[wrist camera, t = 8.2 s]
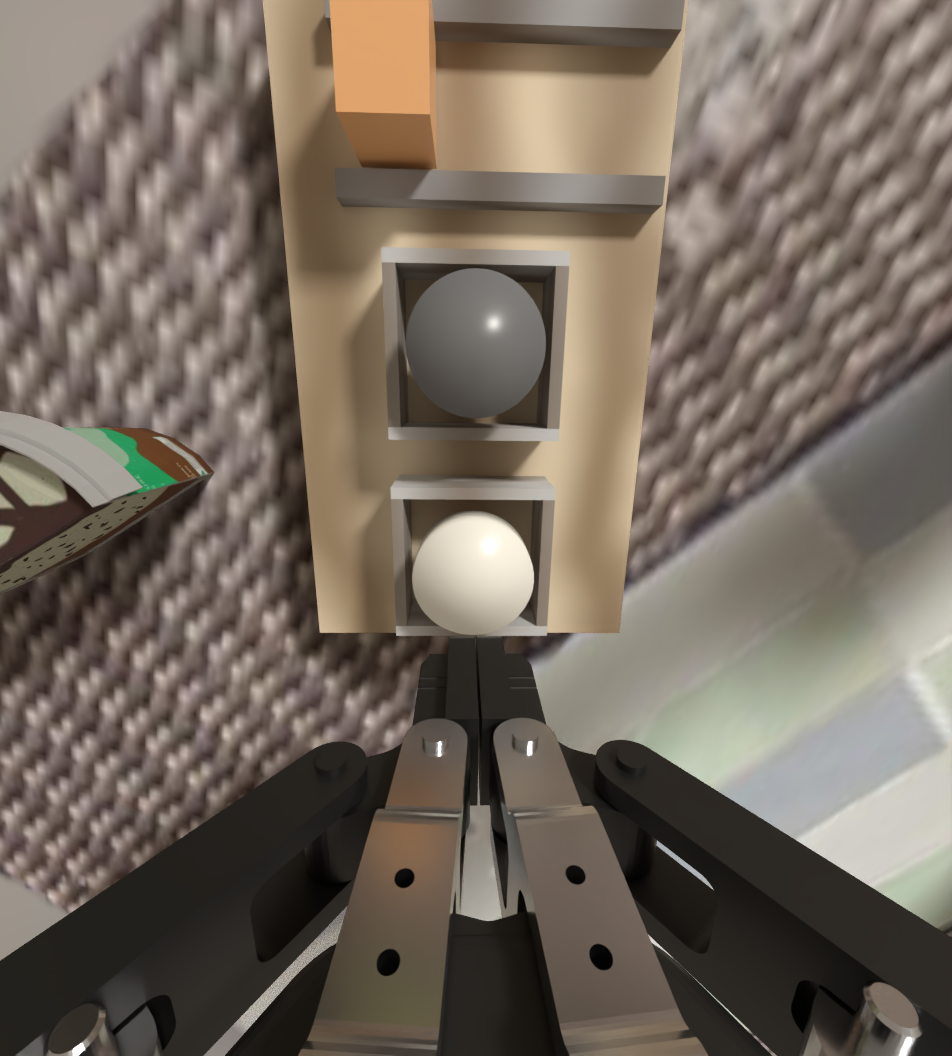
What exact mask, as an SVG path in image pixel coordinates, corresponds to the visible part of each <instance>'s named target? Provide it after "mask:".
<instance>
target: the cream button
mask: <svg viewBox="0 0 952 1056" xmlns="http://www.w3.org/2000/svg"><path fill="white" fill-rule="evenodd" d="M412 584H413V590H414V594H415V597H416V600H417V602H418V604H419V606H420V607H421V609H422V610H423V611H424V613H425V614H426V615H427V616H428V617H429V618H430V619H431V620H432V621H433V622H435V623H436V624H437V625H439V626H441V627H442V628H445V629H447V630H449V631H452V632H455V633H459V634H465V635H480V634H486V633H490V632H493V631H496V630H498V629H501V628H503V627H504V626H506V625H508V624H509V623H511V622H512V621H513V620H515V619H516V618H517V617H518V616H519V615H520V613H521V612H522V611H523V610H524V608H525V607H526V605H527V603H528V601H529V599H530V597H531V594H532V590H533V584H534V571H533V565H532V562H531V559H530V556H529V554H528V551H527V549H526V546H525V544H524V541H523V539H522V538H521V536H520V534H519V533H518V532H517V531H516V529H515V528H514V527H513V526H512V525H511V524H509V523H508V522H507V521H505V520H504V519H502V518H501V517H499V516H496V515H494V514H491V513H488V512H483V511H474V510H473V511H462V512H457V513H454V514H451V515H449V516H447V517H445V518H443V519H442V520H440V521H438V522H437V523H436V524H435V525H434V526H432V527H431V529H430V530H429V531H428V532H427V533H426V535H425V536H424V538H423V540H422V542H421V544H420V546H419V549H418V553H417V556H416V560H415V563H414V567H413V573H412Z"/></svg>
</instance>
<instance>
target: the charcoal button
mask: <svg viewBox="0 0 952 1056" xmlns="http://www.w3.org/2000/svg"><path fill="white" fill-rule="evenodd" d="M545 351H546V335H545V328H544V324H543V320H542V317H541V315H540V312H539V310H538V308H537V306H536V304H535V302H534V301H533V299H532V298H531V297H530V295H529V294H528V293H527V292H526V290H525V289H524V288H523V287H522V286H521V285H519V284H518V283H517V282H515V281H514V280H513V279H511V278H509V277H508V276H506V275H504V274H501V273H499V272H496V271H492V270H488V269H480V268H471V269H463V270H458V271H455V272H453V273H450V274H448V275H446V276H444V277H442V278H440V279H439V280H437V281H436V282H435V283H433V284H432V285H431V286H430V287H429V288H428V289H427V290H426V291H425V292H424V293H423V295H422V296H421V297H420V298H419V300H418V302H417V303H416V305H415V307H414V309H413V311H412V313H411V316H410V319H409V322H408V326H407V332H406V355H407V359H408V364H409V367H410V370H411V373H412V375H413V377H414V379H415V381H416V383H417V385H418V386H419V388H420V389H421V391H422V392H423V393H424V394H425V395H426V396H427V397H428V398H429V399H430V400H431V401H432V402H433V403H434V404H436V405H437V406H439V407H440V408H441V409H443V410H445V411H447V412H449V413H452V414H455V415H457V416H462V417H466V418H485V417H490V416H494V415H497V414H500V413H503V412H505V411H507V410H509V409H510V408H512V407H513V406H515V405H516V404H518V403H519V402H520V401H521V400H522V399H523V398H524V397H525V396H526V395H527V394H528V393H529V392H530V390H531V389H532V387H533V386H534V384H535V383H536V381H537V379H538V377H539V375H540V372H541V369H542V367H543V363H544V358H545Z"/></svg>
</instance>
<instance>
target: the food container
mask: <svg viewBox="0 0 952 1056" xmlns="http://www.w3.org/2000/svg"><path fill="white" fill-rule="evenodd" d="M212 473H214V471H213V470H212V469H211V468H210V467H209V466H208V465H207V463H206V462H205V461H204V460H203V459H202V458H201V457H200V456H199V455H198V454H196V453H195V452H194V451H192V450H191V449H189V448H188V447H186V446H185V445H183V444H182V443H180V442H179V441H178V440H176V439H175V438H172V437H169V436H166V435H163V434H161V433H158V432H155V431H152V430H149V429H145V428H120V427H100V428H62V427H60V426H57V425H55V424H53V423H50V422H46V421H43V420H40V419H37V418H34V417H30V416H27V415H21V414H15V413H9V412H3V411H0V595H1V594H3V593H5V592H8V591H10V590H12V589H14V588H16V587H18V586H21V585H23V584H25V583H27V582H29V581H31V580H34V579H36V578H38V577H40V576H42V575H44V574H46V573H49V572H51V571H53V570H55V569H57V568H59V567H62V566H64V565H66V564H68V563H70V562H72V561H75V560H77V559H79V558H81V557H83V556H85V555H88V554H89V553H91V552H93V551H94V550H96V549H97V548H99V547H100V546H102V545H103V544H105V543H106V542H108V541H109V540H111V539H113V538H114V537H116V536H117V535H119V534H120V533H122V532H123V531H125V530H126V529H128V528H129V527H131V526H133V525H134V524H136V523H137V522H139V521H140V520H142V519H143V518H145V517H146V516H148V515H149V514H151V513H153V512H154V511H156V510H157V509H159V508H160V507H162V506H163V505H165V504H166V503H168V502H169V501H171V500H173V499H174V498H176V497H177V496H179V495H180V494H182V493H183V492H185V491H186V490H188V489H189V488H191V487H192V486H194V485H196V484H197V483H199V482H200V481H202V480H203V479H205V478H206V477H208V476H209V475H211V474H212Z"/></svg>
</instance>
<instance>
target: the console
mask: <svg viewBox="0 0 952 1056" xmlns="http://www.w3.org/2000/svg"><path fill="white" fill-rule="evenodd" d="M432 6H433V18H434V30H435V42H436V130H437V169H419V168H379V167H362V166H361V164H360V162H359V160H358V158H357V156H356V153H355V151H354V149H353V147H352V145H351V143H350V141H349V138H348V136H347V134H346V132H345V130H344V128H343V126H342V123H341V121H340V119H339V117H338V115H337V113H336V103H335V86H334V69H333V52H332V35H331V18H330V1H329V0H263V7H264V18H265V29H266V40H267V51H268V63H269V74H270V85H271V96H272V107H273V118H274V129H275V140H276V151H277V162H278V173H279V185H280V196H281V207H282V218H283V229H284V240H285V251H286V262H287V273H288V284H289V296H290V307H291V318H292V329H293V340H294V351H295V362H296V373H297V384H298V395H299V406H300V418H301V429H302V440H303V451H304V462H305V473H306V484H307V495H308V506H309V517H310V528H311V540H312V551H313V562H314V573H315V584H316V595H317V606H318V617H319V628H320V633H396V636H547V633H619V627H620V618H621V609H622V600H623V591H624V582H625V573H626V564H627V554H628V545H629V536H630V527H631V518H632V509H633V500H634V491H635V482H636V473H637V463H638V454H639V445H640V436H641V427H642V418H643V409H644V400H645V391H646V382H647V372H648V363H649V354H650V345H651V336H652V327H653V318H654V309H655V300H656V291H657V281H658V272H659V263H660V254H661V245H662V236H663V227H664V218H665V209H666V200H667V190H668V181H669V172H670V163H671V154H672V145H673V136H674V127H675V118H676V109H677V99H678V90H679V81H680V72H681V63H682V54H683V45H684V36H685V27H686V18H687V8H688V0H432ZM471 268H480V269H488V270H492V271H496V272H499V273H501V274H504V275H506V276H508V277H509V278H511V279H513V280H514V281H515V282H517V283H518V284H519V285H521V286H522V287H523V288H524V289H525V290H526V292H527V293H528V294H529V295H530V297H531V298H532V299H533V301H534V302H535V304H536V306H537V308H538V310H539V312H540V315H541V317H542V320H543V324H544V328H545V335H546V351H545V358H544V363H543V367H542V369H541V372H540V375H539V377H538V379H537V381H536V383H535V384H534V386H533V387H532V389H531V390H530V392H529V393H528V394H527V395H526V396H525V397H524V398H523V399H522V400H521V401H520V402H519V403H518V404H516V405H515V406H513V407H512V408H510V409H509V410H507V411H505V412H503V413H500V414H497V415H494V416H490V417H485V418H466V417H462V416H457V415H455V414H452V413H449V412H447V411H445V410H443V409H441V408H440V407H439V406H437V405H436V404H434V403H433V402H432V401H431V400H430V399H429V398H428V397H427V396H426V395H425V394H424V393H423V392H422V391H421V389H420V388H419V386H418V385H417V383H416V381H415V379H414V377H413V375H412V373H411V370H410V367H409V364H408V359H407V355H406V332H407V326H408V322H409V319H410V316H411V313H412V311H413V309H414V307H415V305H416V303H417V302H418V300H419V298H420V297H421V296H422V295H423V293H424V292H425V291H426V290H427V289H428V288H429V287H430V286H431V285H432V284H433V283H435V282H436V281H437V280H439V279H440V278H442V277H444V276H446V275H448V274H450V273H453V272H455V271H458V270H463V269H471ZM473 510H474V511H483V512H488V513H491V514H494V515H496V516H499V517H501V518H502V519H504V520H505V521H507V522H508V523H509V524H511V525H512V526H513V527H514V528H515V529H516V531H517V532H518V533H519V534H520V536H521V538H522V539H523V541H524V544H525V546H526V549H527V551H528V554H529V556H530V559H531V562H532V565H533V571H534V584H533V590H532V594H531V597H530V599H529V601H528V603H527V605H526V607H525V608H524V610H523V611H522V612H521V613H520V615H519V616H518V617H517V618H516V619H515V620H513V621H512V622H511V623H509V624H508V625H506V626H504V627H503V628H501V629H498V630H496V631H493V632H490V633H486V634H480V635H465V634H459V633H455V632H452V631H449V630H447V629H445V628H442V627H441V626H439V625H437V624H436V623H435V622H433V621H432V620H431V619H430V618H429V617H428V616H427V615H426V614H425V613H424V611H423V610H422V609H421V607H420V606H419V604H418V602H417V600H416V597H415V594H414V590H413V584H412V573H413V567H414V563H415V560H416V556H417V553H418V549H419V546H420V544H421V542H422V540H423V538H424V536H425V535H426V533H427V532H428V531H429V530H430V529H431V527H432V526H434V525H435V524H436V523H437V522H438V521H440V520H442V519H443V518H445V517H447V516H449V515H451V514H454V513H457V512H462V511H473Z"/></svg>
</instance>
